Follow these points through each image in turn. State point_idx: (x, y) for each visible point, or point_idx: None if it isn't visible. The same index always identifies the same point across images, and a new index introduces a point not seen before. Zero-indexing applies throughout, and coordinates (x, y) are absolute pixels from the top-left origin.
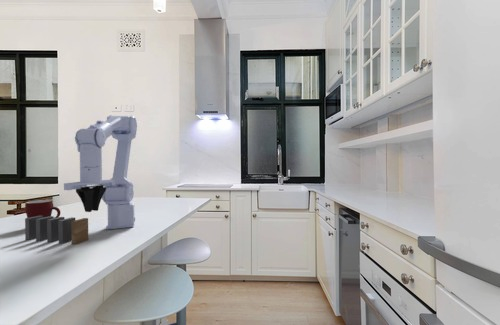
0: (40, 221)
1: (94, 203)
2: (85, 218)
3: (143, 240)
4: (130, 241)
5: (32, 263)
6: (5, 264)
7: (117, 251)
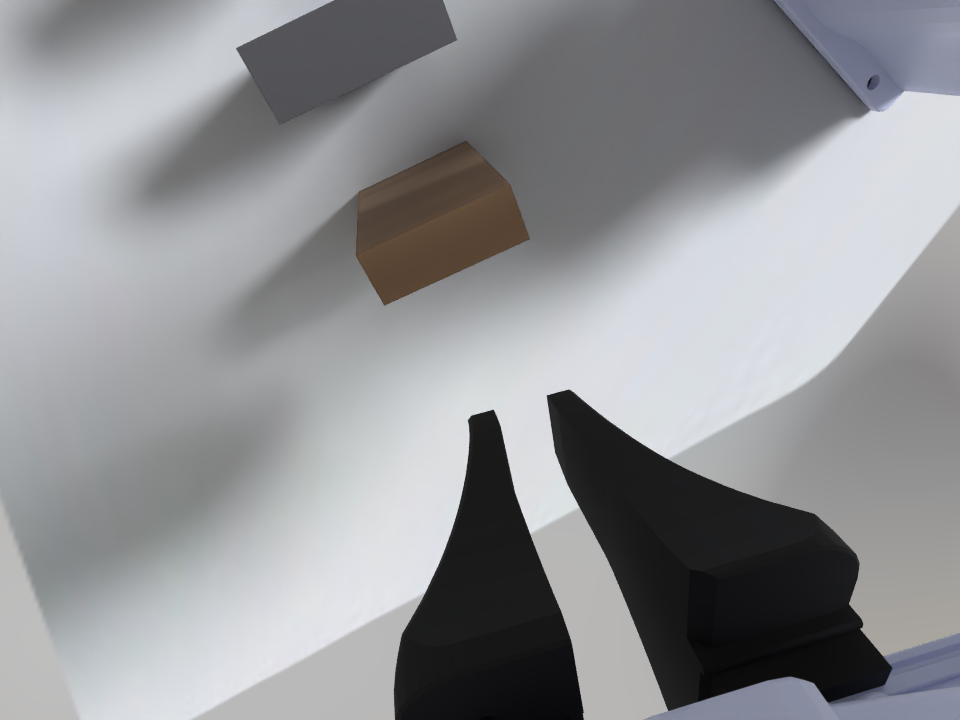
0: None
1: (584, 487)
2: (508, 226)
3: None
4: None
5: (108, 411)
6: None
7: None
